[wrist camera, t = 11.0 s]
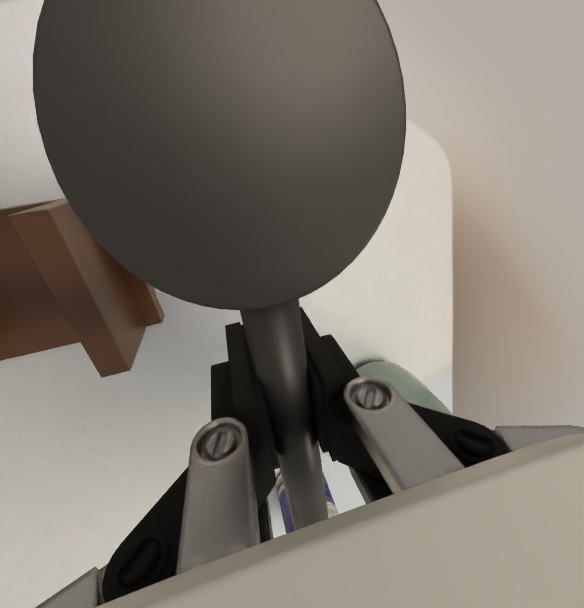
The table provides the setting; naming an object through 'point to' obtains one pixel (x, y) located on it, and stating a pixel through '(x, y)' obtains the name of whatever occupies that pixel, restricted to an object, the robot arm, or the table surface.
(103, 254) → the rack
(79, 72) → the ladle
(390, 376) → the cup
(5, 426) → the table surface
